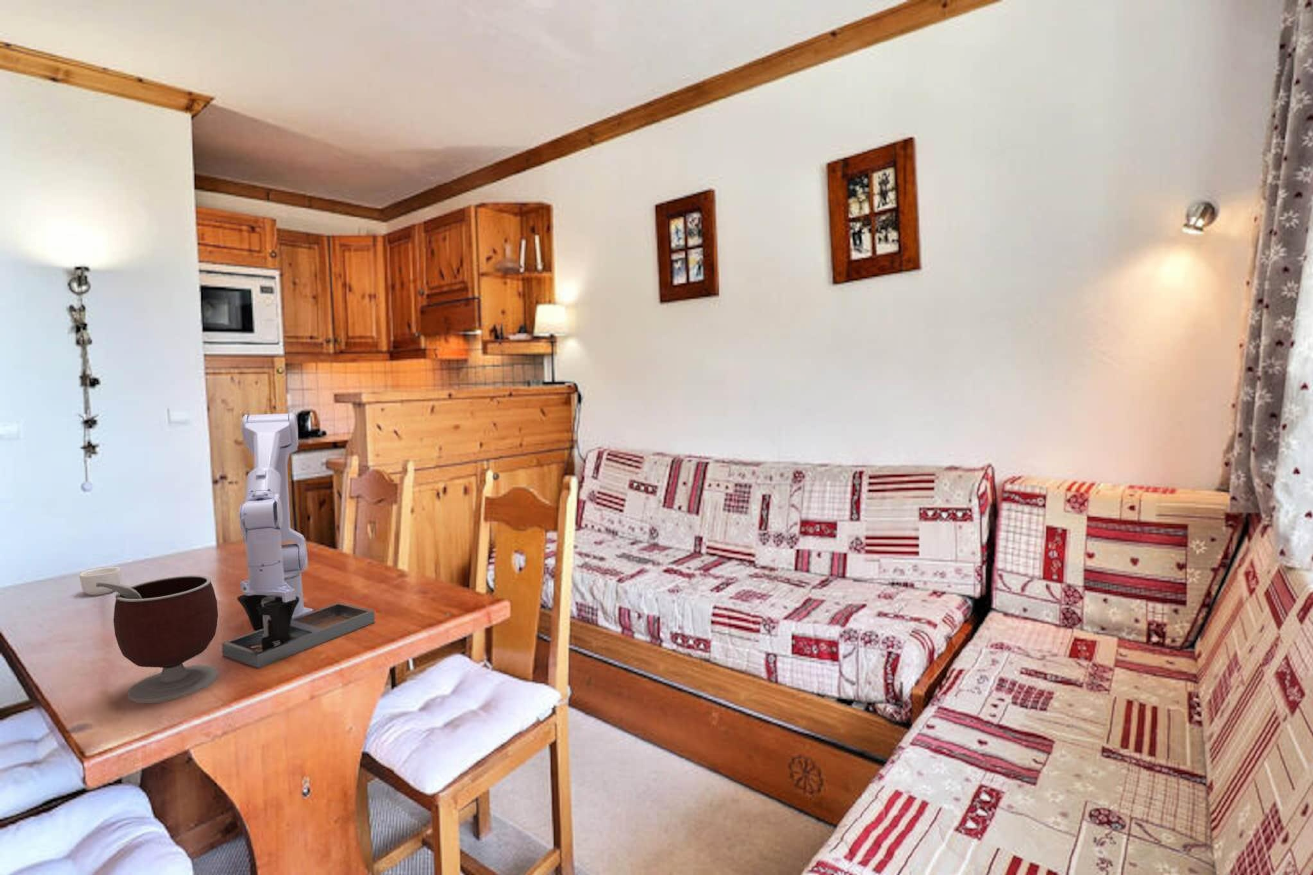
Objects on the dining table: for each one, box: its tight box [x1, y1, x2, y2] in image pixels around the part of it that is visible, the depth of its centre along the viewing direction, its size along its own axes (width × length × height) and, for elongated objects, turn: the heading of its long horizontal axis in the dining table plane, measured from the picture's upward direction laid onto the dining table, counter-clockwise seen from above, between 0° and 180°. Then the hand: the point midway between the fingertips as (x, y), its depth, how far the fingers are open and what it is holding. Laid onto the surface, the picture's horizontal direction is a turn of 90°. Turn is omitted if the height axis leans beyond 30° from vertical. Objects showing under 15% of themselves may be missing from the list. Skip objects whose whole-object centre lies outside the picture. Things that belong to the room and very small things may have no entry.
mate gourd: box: [96, 574, 219, 704], centre depth 109 cm, size 16×14×20 cm
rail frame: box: [221, 602, 376, 669], centre depth 129 cm, size 12×24×2 cm, turn 150°
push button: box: [250, 596, 292, 652], centre depth 123 cm, size 7×5×10 cm
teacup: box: [79, 566, 121, 596], centre depth 161 cm, size 10×8×5 cm
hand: (271, 632), depth 124 cm, fingers open, 7 cm apart
